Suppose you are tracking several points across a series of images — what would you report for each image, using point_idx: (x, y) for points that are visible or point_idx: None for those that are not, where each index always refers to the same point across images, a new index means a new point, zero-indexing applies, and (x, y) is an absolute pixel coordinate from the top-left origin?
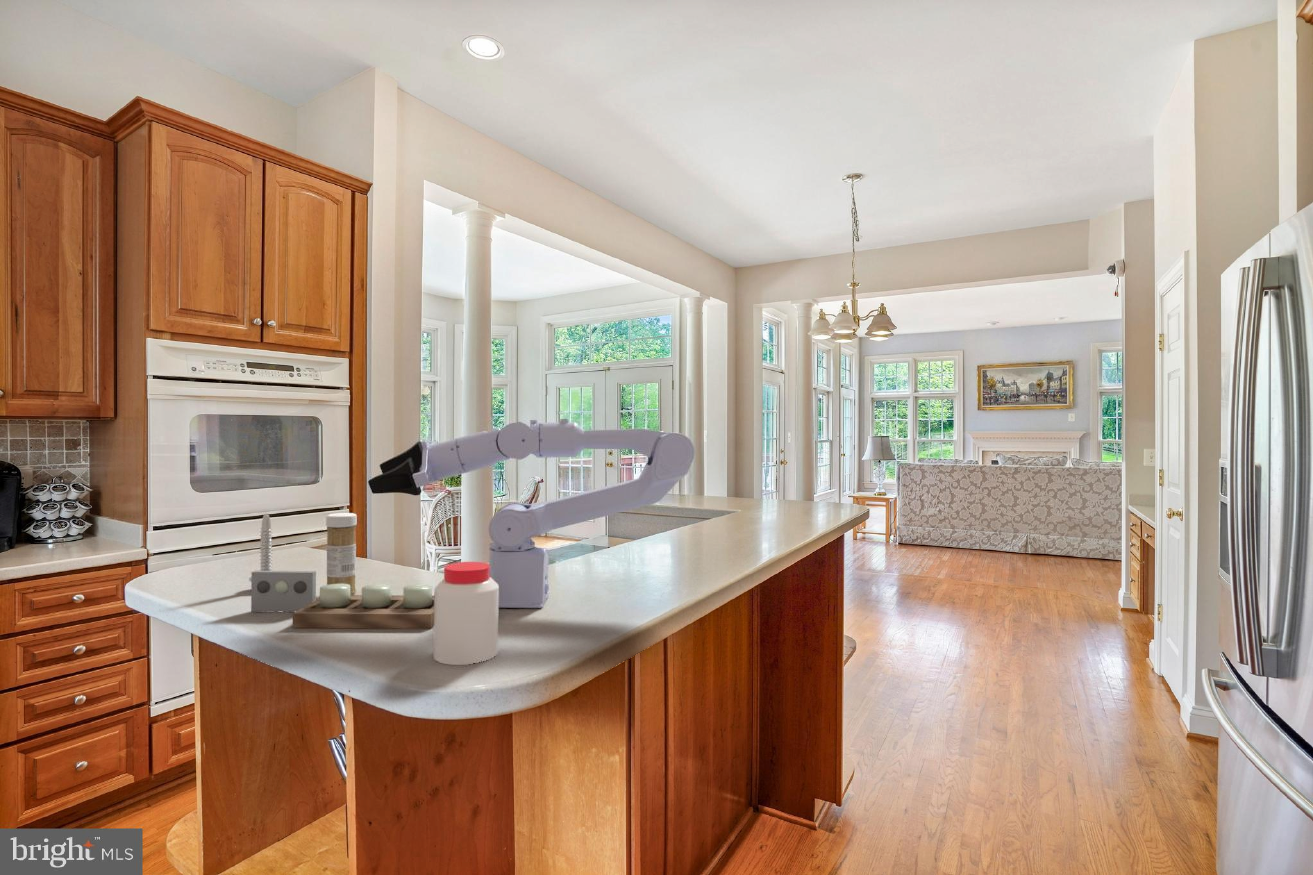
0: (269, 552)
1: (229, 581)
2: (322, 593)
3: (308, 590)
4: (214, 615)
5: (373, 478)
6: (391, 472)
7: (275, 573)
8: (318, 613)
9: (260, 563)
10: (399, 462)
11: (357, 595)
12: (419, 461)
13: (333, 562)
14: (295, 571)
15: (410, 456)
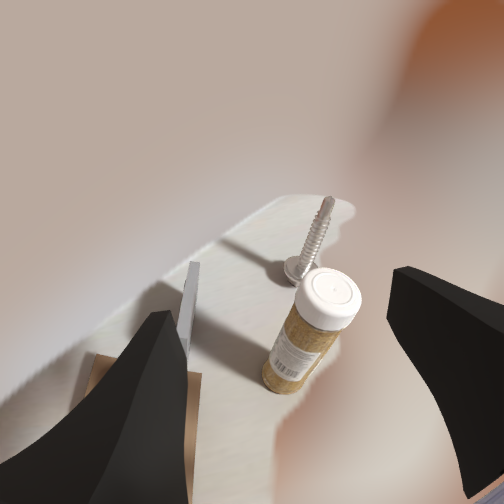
0: (311, 247)
1: (323, 241)
2: None
3: None
4: (179, 271)
5: (146, 325)
6: (77, 407)
7: (184, 288)
8: (87, 386)
9: (301, 251)
10: (449, 337)
11: (194, 421)
12: (499, 434)
13: (275, 342)
14: (187, 310)
15: (499, 373)
